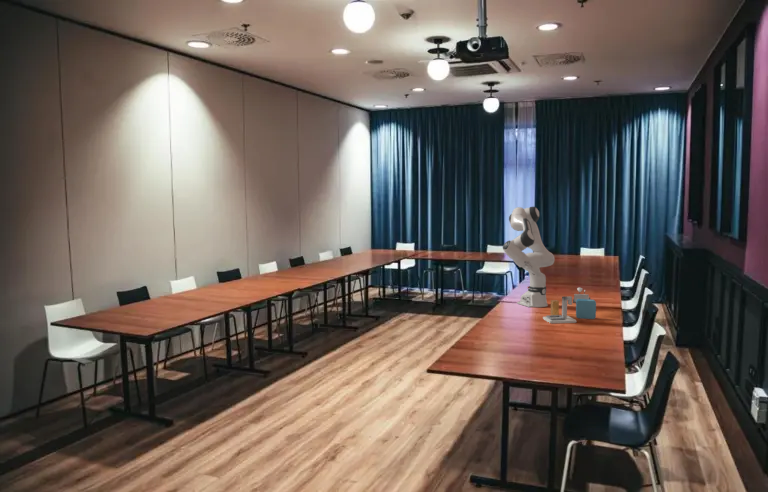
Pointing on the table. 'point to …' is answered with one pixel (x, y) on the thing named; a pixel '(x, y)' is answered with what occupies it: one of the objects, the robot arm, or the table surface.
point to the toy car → (580, 295)
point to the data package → (585, 309)
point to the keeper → (564, 317)
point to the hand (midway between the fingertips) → (537, 275)
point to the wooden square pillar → (554, 307)
